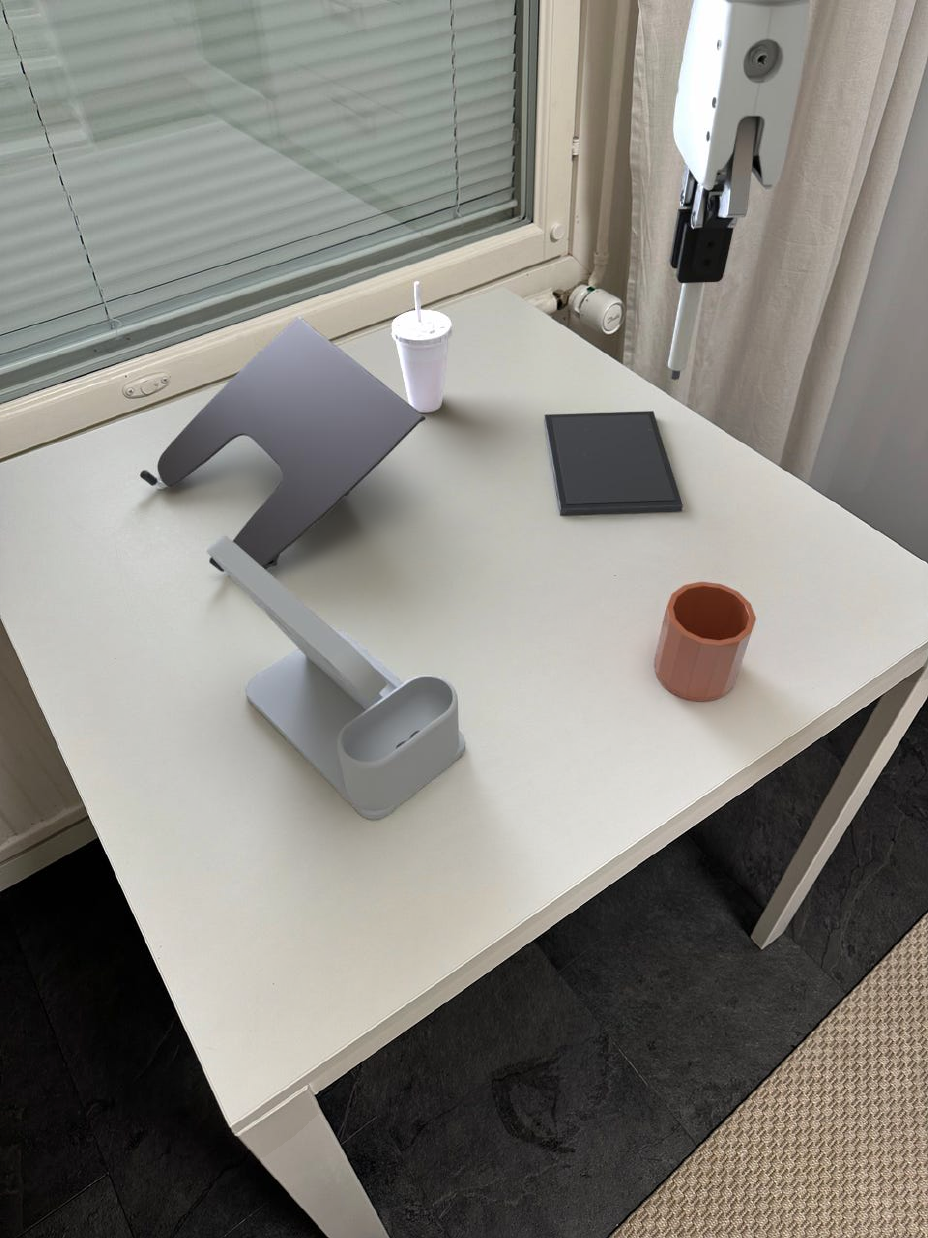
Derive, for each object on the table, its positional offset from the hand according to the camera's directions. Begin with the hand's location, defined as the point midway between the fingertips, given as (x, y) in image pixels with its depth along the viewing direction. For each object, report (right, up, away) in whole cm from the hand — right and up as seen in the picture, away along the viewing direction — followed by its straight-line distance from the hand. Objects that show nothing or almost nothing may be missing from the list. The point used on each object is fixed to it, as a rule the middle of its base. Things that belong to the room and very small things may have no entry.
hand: (695, 271), depth 63 cm
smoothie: (-21, 0, +38) cm, 43 cm away
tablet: (-1, -8, +30) cm, 31 cm away
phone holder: (-25, -33, +8) cm, 42 cm away
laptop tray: (-35, -12, +27) cm, 46 cm away
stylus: (0, -6, +6) cm, 9 cm away
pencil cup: (+3, -29, +11) cm, 31 cm away
